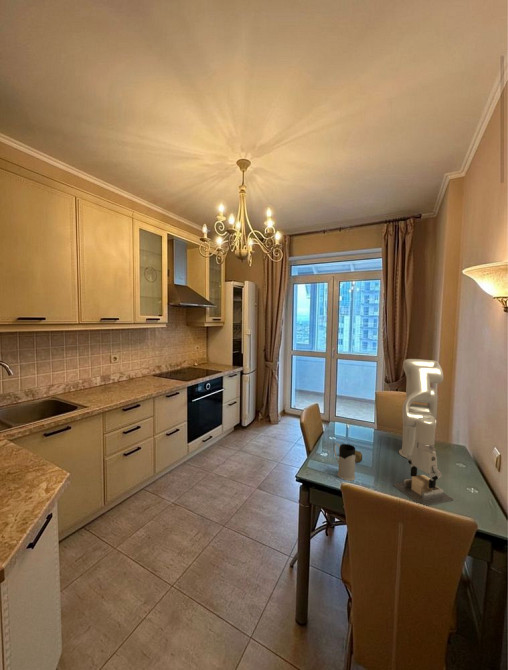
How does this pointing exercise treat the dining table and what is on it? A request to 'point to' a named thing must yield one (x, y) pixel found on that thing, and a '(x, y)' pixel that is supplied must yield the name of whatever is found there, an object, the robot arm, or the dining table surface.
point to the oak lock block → (420, 484)
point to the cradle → (423, 494)
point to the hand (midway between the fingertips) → (422, 481)
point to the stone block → (358, 456)
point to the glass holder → (346, 461)
